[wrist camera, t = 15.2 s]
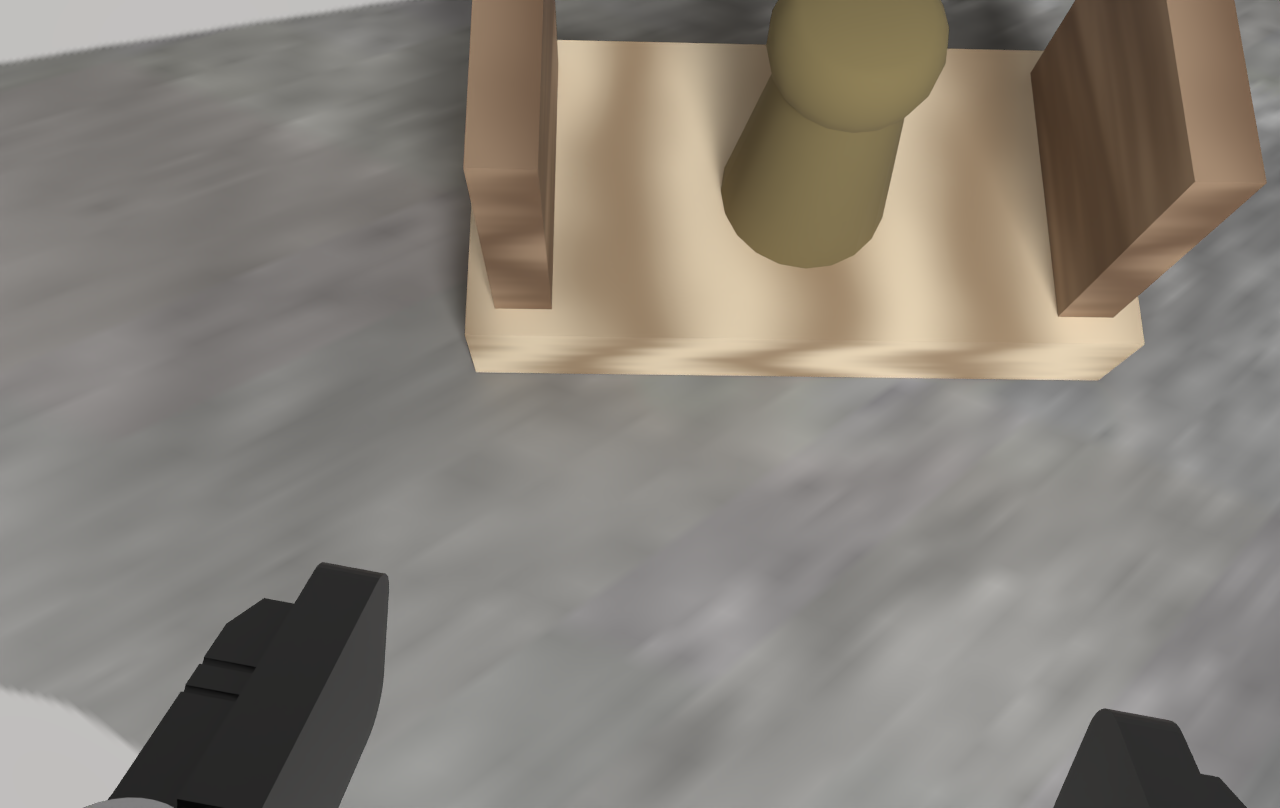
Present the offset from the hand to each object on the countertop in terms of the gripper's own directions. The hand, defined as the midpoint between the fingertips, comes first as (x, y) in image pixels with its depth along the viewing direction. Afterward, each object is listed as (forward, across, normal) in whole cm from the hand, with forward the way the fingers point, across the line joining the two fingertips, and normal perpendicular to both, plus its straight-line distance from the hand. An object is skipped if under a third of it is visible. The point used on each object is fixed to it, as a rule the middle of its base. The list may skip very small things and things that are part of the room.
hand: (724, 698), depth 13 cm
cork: (+32, -2, +3) cm, 32 cm away
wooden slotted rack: (+35, -2, +6) cm, 35 cm away
